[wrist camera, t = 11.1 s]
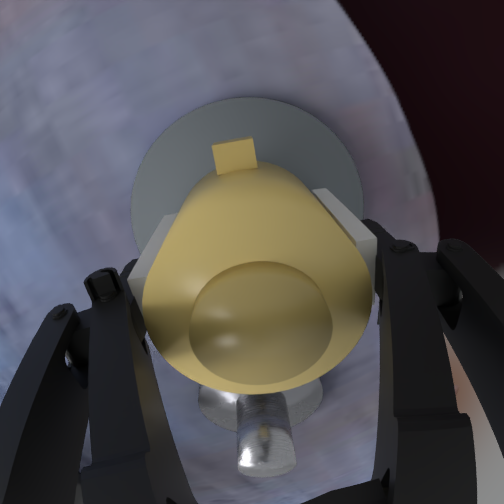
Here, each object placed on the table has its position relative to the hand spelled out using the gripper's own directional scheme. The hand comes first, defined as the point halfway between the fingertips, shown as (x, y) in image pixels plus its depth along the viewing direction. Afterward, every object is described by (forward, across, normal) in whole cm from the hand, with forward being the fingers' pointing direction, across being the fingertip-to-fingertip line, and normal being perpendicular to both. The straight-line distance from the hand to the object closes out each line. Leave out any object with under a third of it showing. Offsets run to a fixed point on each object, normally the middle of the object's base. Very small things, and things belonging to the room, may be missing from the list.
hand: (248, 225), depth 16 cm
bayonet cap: (-1, 0, 0) cm, 1 cm away
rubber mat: (+2, 0, 0) cm, 2 cm away
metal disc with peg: (+2, -2, -15) cm, 15 cm away
